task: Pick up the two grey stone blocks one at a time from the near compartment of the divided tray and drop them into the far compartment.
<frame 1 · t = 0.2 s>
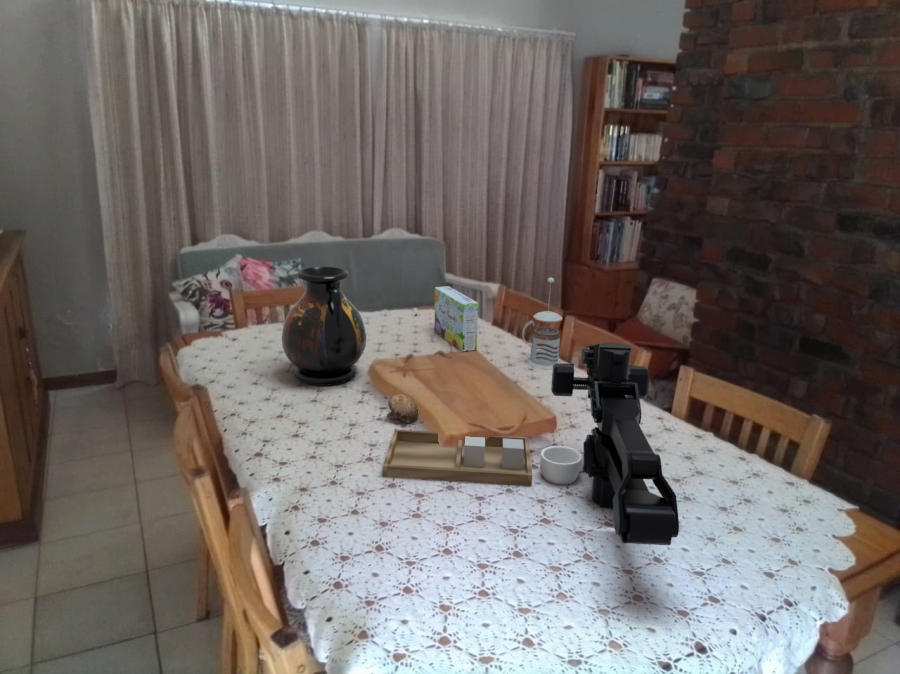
hand: (592, 367, 143), 17 cm above the table, fingers open, 9 cm apart
mushroom: (403, 421, 155), on the table
french press: (541, 363, 194), on the table
teacup: (563, 479, 132), on the table
stone 1: (473, 461, 135), point 1 cm above the table, touching divided tray
divided tray: (458, 464, 136), on the table
snack box: (454, 341, 211), on the table
stone 2: (511, 464, 135), point 1 cm above the table, touching divided tray
amphora vase: (325, 376, 179), on the table
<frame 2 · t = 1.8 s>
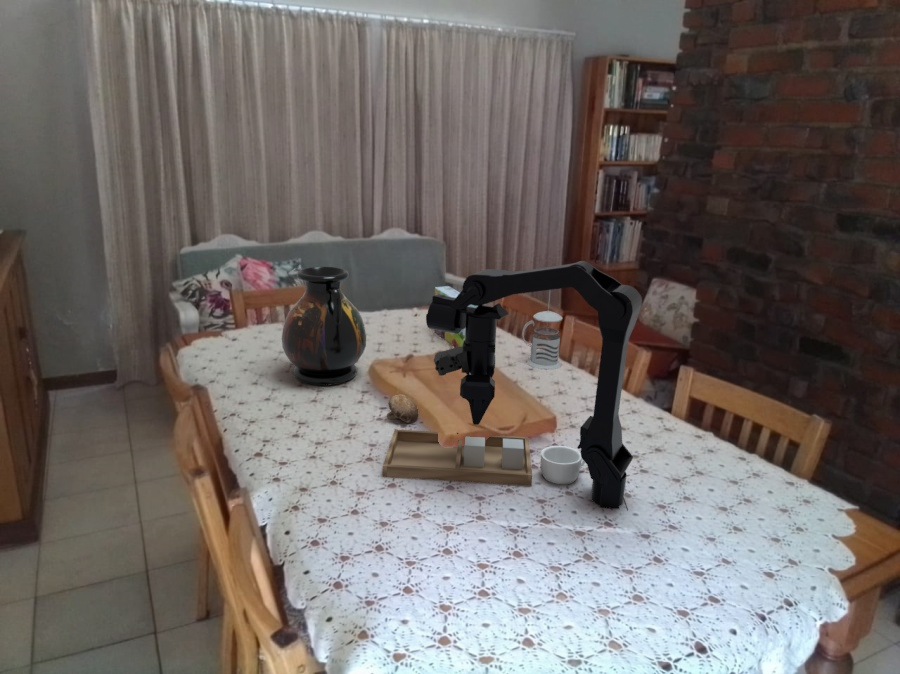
hand: (476, 414, 132), 11 cm above the table, fingers open, 9 cm apart
nothing on the table moved.
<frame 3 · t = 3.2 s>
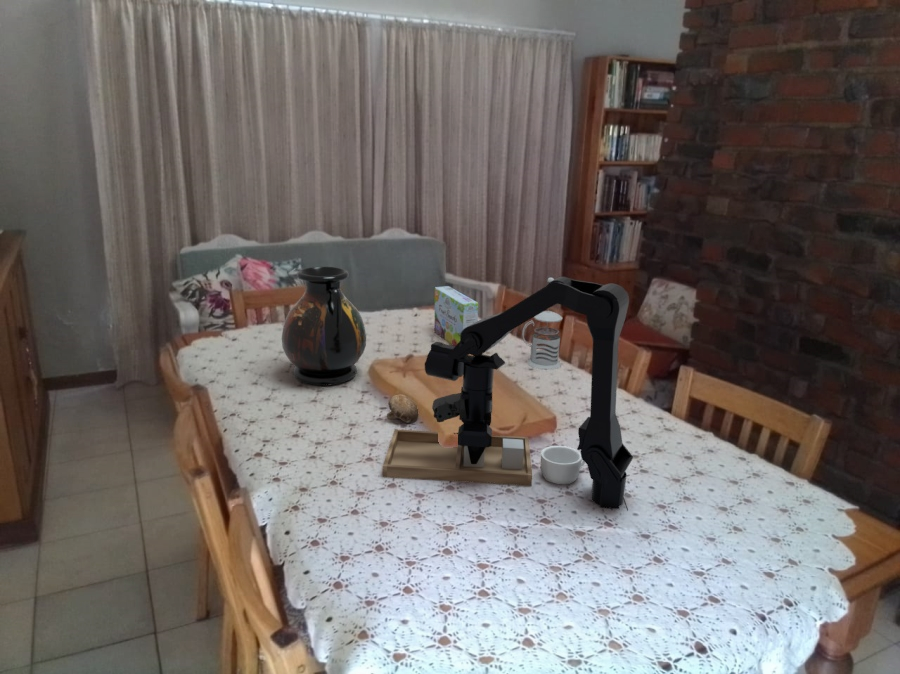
hand: (474, 458, 135), 2 cm above the table, fingers closed on stone 1, 4 cm apart
stone 1: (473, 461, 135), point 1 cm above the table, touching divided tray, gripper
everything else where it was.
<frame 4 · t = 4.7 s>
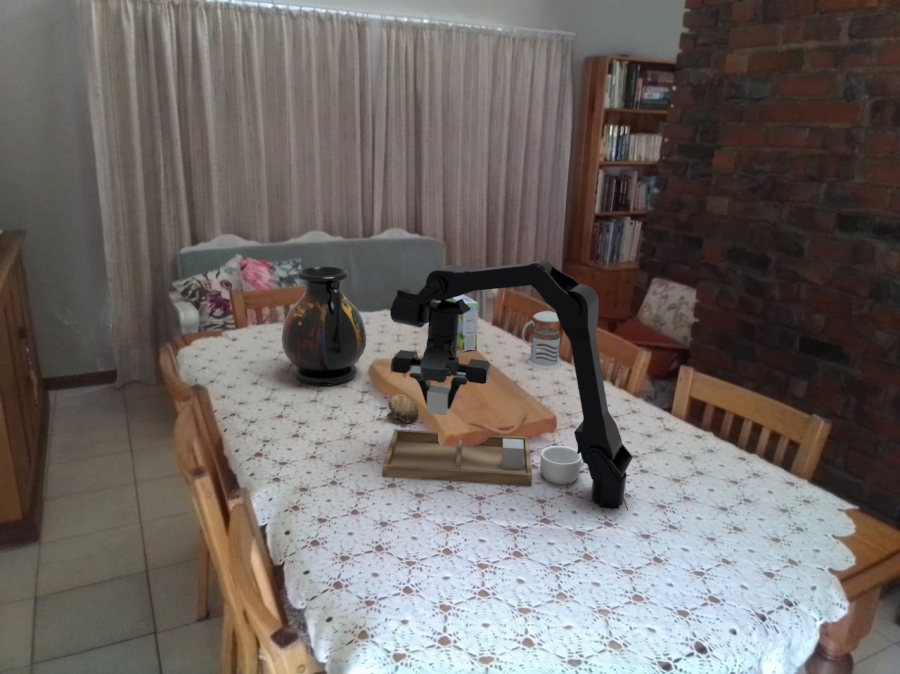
hand: (438, 406, 135), 11 cm above the table, fingers closed on stone 1, 4 cm apart
stone 1: (438, 409, 135), point 10 cm above the table, touching gripper
everything else where it was.
when the fingers open (3 cm above the table, at t = 6.3 s): stone 1 drops 2 cm, resting on divided tray.
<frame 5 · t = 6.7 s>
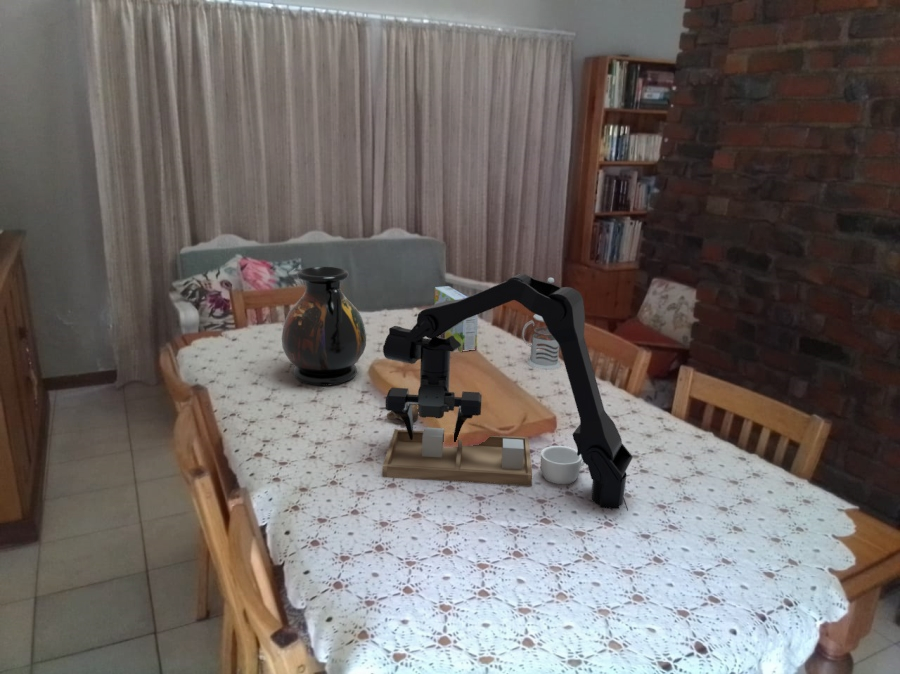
hand: (433, 440, 138), 3 cm above the table, fingers open, 8 cm apart
stone 1: (432, 452, 139), point 1 cm above the table, touching divided tray
everything else where it was.
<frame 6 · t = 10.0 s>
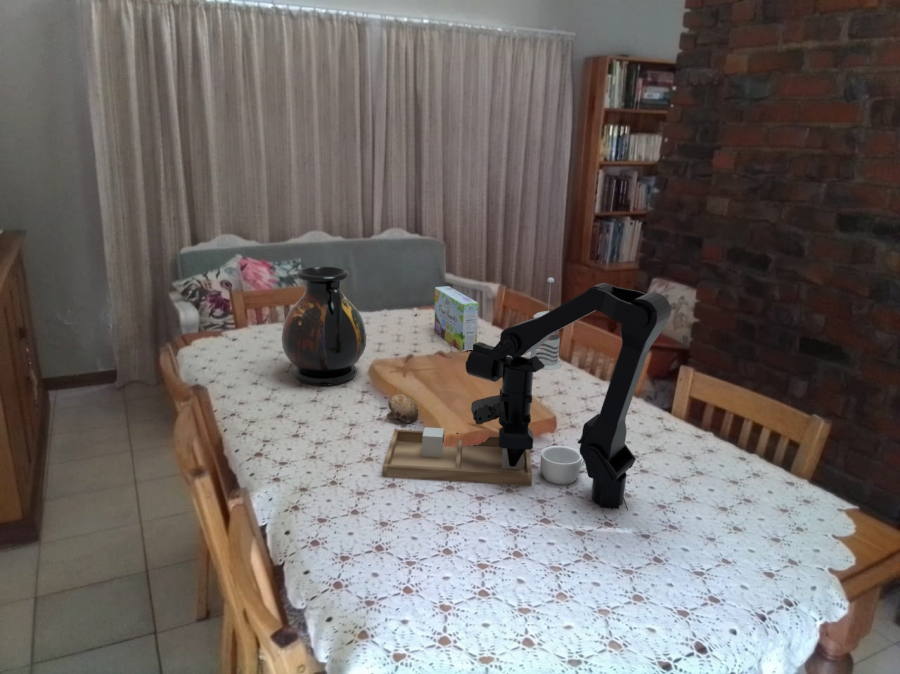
hand: (512, 460, 135), 2 cm above the table, fingers closed on stone 2, 4 cm apart
stone 2: (511, 464, 135), point 1 cm above the table, touching divided tray, gripper
everything else where it was.
when the fingers open (3 cm above the table, at t = 13.3 s): stone 2 drops 2 cm, resting on divided tray.
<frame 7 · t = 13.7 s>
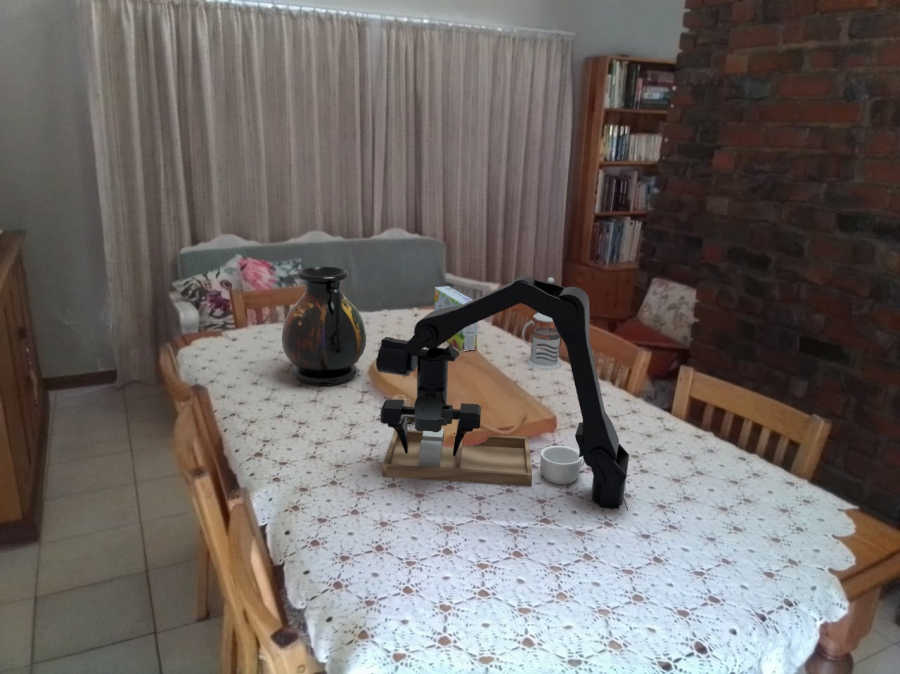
hand: (430, 454, 132), 3 cm above the table, fingers open, 9 cm apart
stone 2: (430, 466, 133), point 1 cm above the table, touching divided tray
everything else where it was.
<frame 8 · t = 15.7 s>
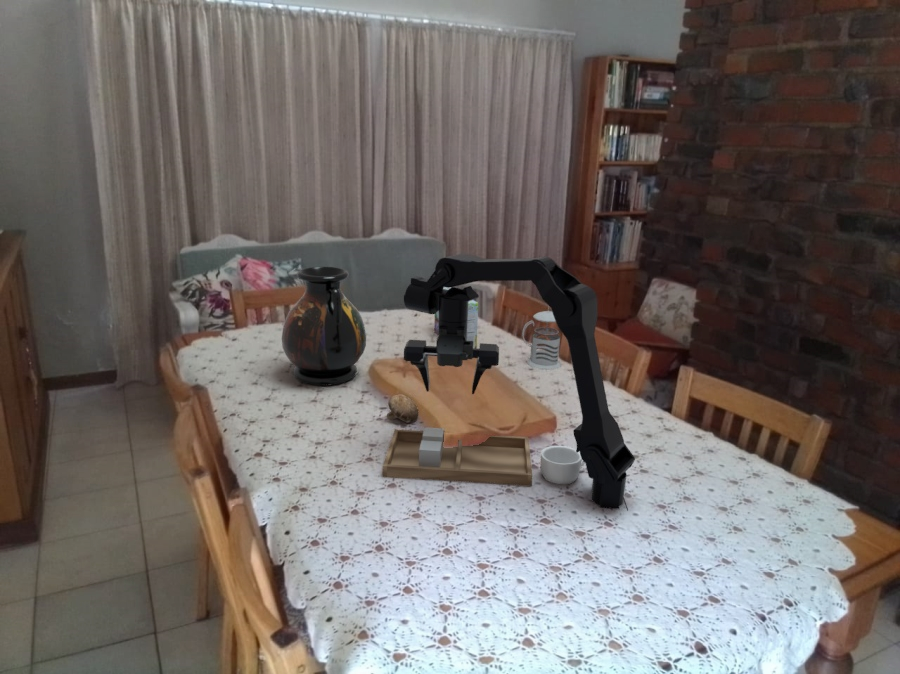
hand: (450, 392, 139), 13 cm above the table, fingers open, 9 cm apart
nothing on the table moved.
at the end: stone 1 inside the target area (3.2 cm from its centre), point 0.8 cm above the table; stone 2 inside the target area (3.2 cm from its centre), point 0.8 cm above the table; the gripper is holding nothing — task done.
